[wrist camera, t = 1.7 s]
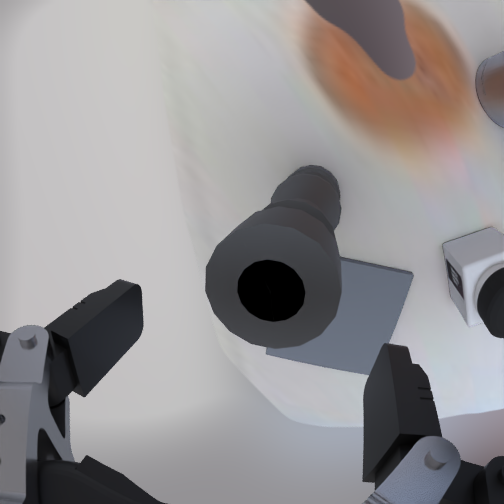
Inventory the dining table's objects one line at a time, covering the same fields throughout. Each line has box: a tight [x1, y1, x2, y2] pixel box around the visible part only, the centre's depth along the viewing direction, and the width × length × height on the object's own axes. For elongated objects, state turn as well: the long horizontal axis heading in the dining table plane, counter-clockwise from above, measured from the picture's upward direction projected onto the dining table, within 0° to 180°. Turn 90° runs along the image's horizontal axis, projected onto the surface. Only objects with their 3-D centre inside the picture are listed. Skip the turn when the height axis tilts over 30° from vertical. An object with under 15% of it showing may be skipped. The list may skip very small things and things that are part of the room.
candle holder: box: [205, 165, 342, 349], centre depth 24 cm, size 6×6×25 cm
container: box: [443, 227, 504, 338], centre depth 27 cm, size 8×8×13 cm
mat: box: [266, 257, 414, 375], centre depth 40 cm, size 16×16×1 cm
